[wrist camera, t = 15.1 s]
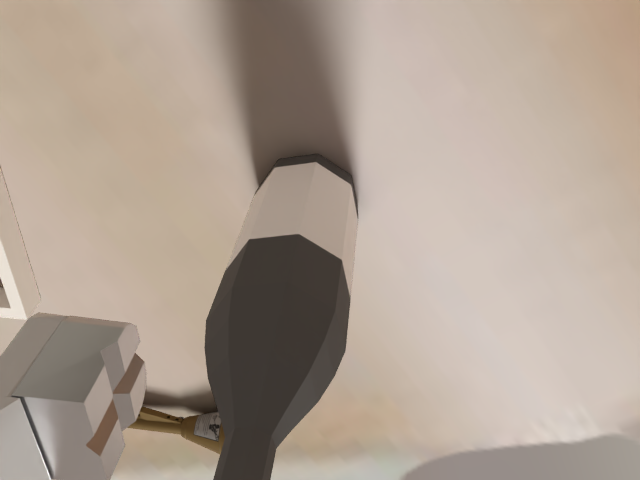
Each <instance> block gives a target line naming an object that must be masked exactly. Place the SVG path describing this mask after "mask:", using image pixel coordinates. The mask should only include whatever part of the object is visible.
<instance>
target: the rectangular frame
mask: <svg viewBox="0 0 640 480" xmlns="http://www.w3.org/2000/svg"><path fill="white" fill-rule="evenodd" d="M0 278H1V281H2V284H3V287H4V288H2V287H0V317H5V318H15V319H25V320H28V318H29V317H30V316H31V314H32V313H33V312H34V310H35V309H36V308H37V306H38V305H39V304H40V302H41V298H40V294H39V291H38V288H37V285H36V281H35V278H34V275H33V272H32V268H31V265H30V262H29V259H28V255H27V252H26V249H25V246H24V242H23V239H22V236H21V233H20V229H19V226H18V223H17V220H16V216H15V213H14V210H13V207H12V203H11V200H10V197H9V194H8V190H7V187H6V184H5V181H4V177H3V174H2V171H1V168H0Z"/></svg>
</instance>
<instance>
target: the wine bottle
mask: <svg viewBox="0 0 640 480" xmlns="http://www.w3.org/2000/svg"><path fill="white" fill-rule="evenodd" d="M357 226H358V208H357V203H356V198H355V193H354V187H353V182H352V177H351V175H350V174H348V173H347V172H345V171H344V170H342V169H341V168H339V167H338V166H336V165H334V164H333V163H331V162H330V161H328V160H327V159H325V158H324V157H322V156H321V155H319V154H313V155H306V156H298V157H291V158H283V159H279V160H278V161H277V163H276V164H275V165H274V167H273V168H272V170H271V171H270V172H269V174H268V175H267V177H266V178H265V179H264V181H263V182H262V184H261V185H260V186H259V188H258V189H257V191H256V192H255V195H254V197H253V200H252V202H251V205H250V208H249V210H248V213H247V215H246V218H245V221H244V223H243V226H242V228H241V231H240V234H239V236H238V239H237V242H236V244H235V247H234V249H233V252H232V255H231V257H230V260H229V262H228V265H227V268H226V270H225V273H224V275H223V278H222V281H221V283H220V286H219V288H218V291H217V294H216V296H215V299H214V302H213V304H212V307H211V309H210V312H209V315H208V317H207V320H206V334H205V355H206V365H207V374H208V380H209V383H210V386H211V390H212V393H213V396H214V399H215V402H216V406H217V409H218V412H219V415H220V419H221V423H222V427H223V431H224V435H225V440H224V443H223V447H222V451H221V454H220V458H219V461H218V465H217V468H216V472H215V476H214V479H213V480H270V478H271V473H272V468H273V463H274V457H275V452H276V448H277V447H278V446H279V445H280V443H281V442H282V441H283V440H284V439H285V437H286V436H287V435H288V434H289V433H290V432H291V430H292V429H293V428H294V427H295V426H296V425H297V424H298V423H299V422H300V421H301V420H302V419H303V418H304V416H305V415H306V414H307V413H308V412H309V411H310V410H311V409H312V408H313V407H314V406H315V405H316V404H317V403H318V401H319V400H320V398H321V397H322V395H323V393H324V392H325V390H326V389H327V387H328V386H329V384H330V382H331V381H332V379H333V378H334V376H335V374H336V371H337V369H338V367H339V364H340V362H341V360H342V357H343V355H344V353H345V349H346V339H347V329H348V318H349V308H350V298H351V288H352V277H353V267H354V257H355V247H356V236H357Z"/></svg>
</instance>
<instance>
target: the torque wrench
mask: <svg viewBox="0 0 640 480" xmlns="http://www.w3.org/2000/svg"><path fill="white" fill-rule="evenodd" d="M127 428H134V429H142V430H150V431H157V432H165V433H173V434H181V436H182V437H184V438H185V439H188V440H190V441H192V442H194V443H197V444H199V445H201V446H203V447H205V448H208V449H210V450H212V451H214V452H216V453H218V454H221V451H222V447H223V443H224V440H225V435H224V431H223V427H222V423H221V419H220V415H219V412H213V413H208V414H202V415H196V416H189V417H186V418H183V417H175V416H172V415H169V414H165V413H162V412H159V411H156V410H152V409H149V408H146V407H141V410H140V412H139V414H138V417H137V419H136V421H135V422H134V423H132V424H131V425H130V426H128V427H127Z"/></svg>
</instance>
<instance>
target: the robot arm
mask: <svg viewBox="0 0 640 480" xmlns="http://www.w3.org/2000/svg"><path fill="white" fill-rule="evenodd" d="M139 343H140V338H139V334H138V330H137V326H136V325H134V324H132V323H126V322H118V321H109V320H101V319H93V318H85V317H77V316H63V315H56V314H48V313H40V312H39V313H37V314H35V315H33V316H31V317H30V318H29V319H28V320H27V321H26V323H25V324H24V325H23V327H22V328H21V329H20V331H19V332H18V333H17V335H16V336H15V337H14V339H13V340H12V341H11V343H10V344H9V345H8V347H7V348H6V349H5V351H4V352H3V353H2V355H1V356H0V480H51V479H53V480H110V479H111V476H112V474H113V472H114V470H115V467H116V465H117V463H118V461H119V458H120V456H121V454H122V452H123V449H124V447H125V443H124V439H123V435H122V431H123V430H124V429H126V428H127V427H128V426H130V425H131V424H132V423H134V422H135V421H136V419H137V417H138V414H139V412H140V410H141V407H142V404H143V400H144V395H145V390H146V368H145V363H144V361H143V360H142V359H141V358H140V357H139V356H138V355H137V354H136V353H135V352H136V349H137V347H138V345H139Z"/></svg>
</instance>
